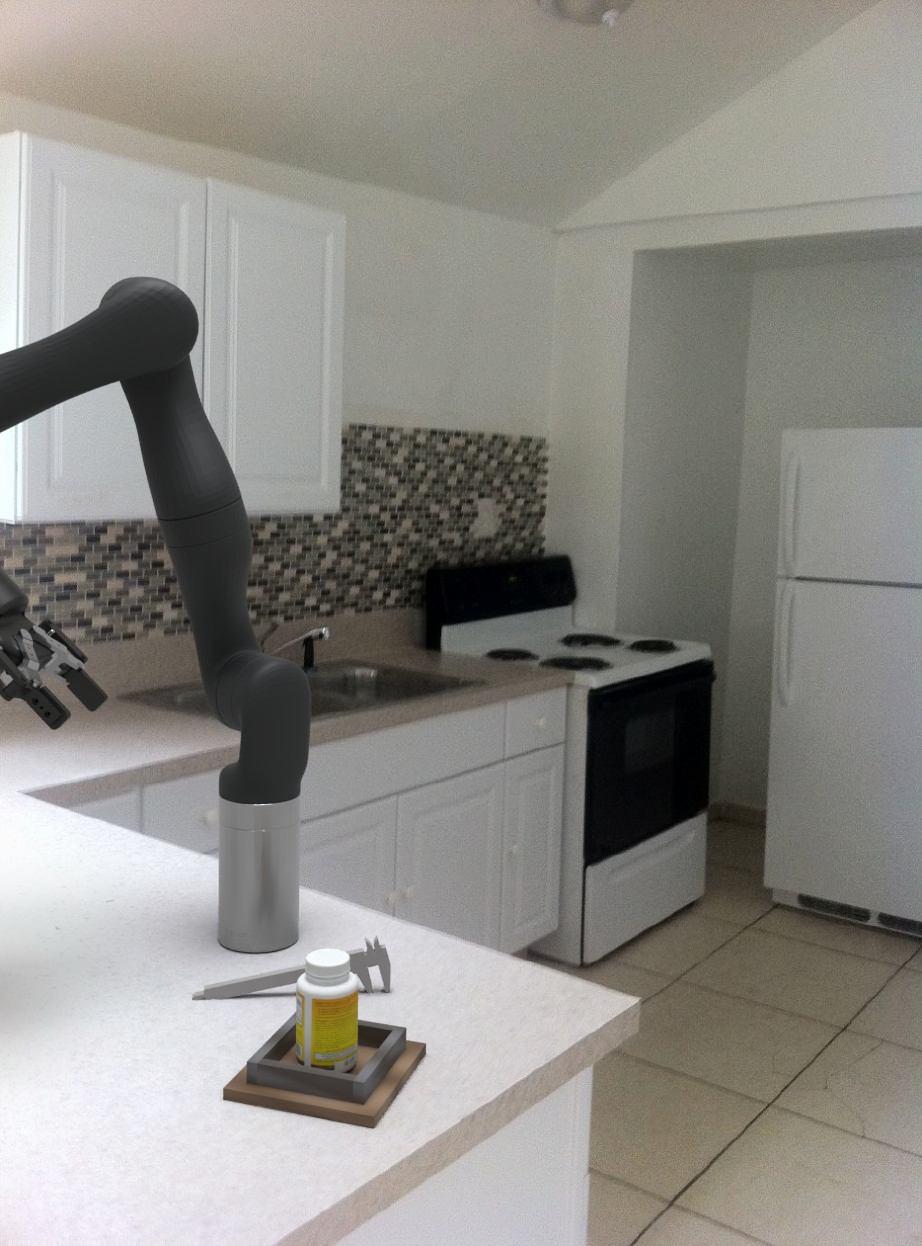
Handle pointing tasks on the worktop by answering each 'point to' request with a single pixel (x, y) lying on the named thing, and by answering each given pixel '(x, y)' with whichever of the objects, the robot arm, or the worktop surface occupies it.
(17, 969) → the worktop surface
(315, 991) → the supplement bottle
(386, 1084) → the collar base
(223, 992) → the caliper
